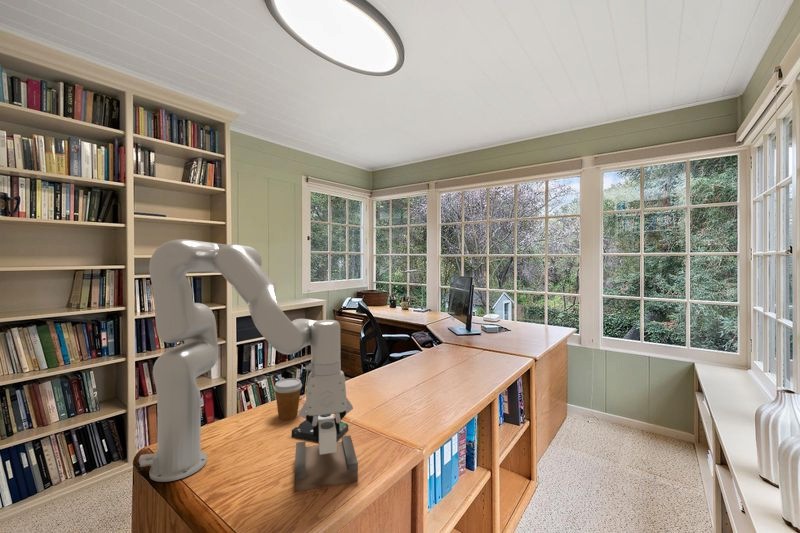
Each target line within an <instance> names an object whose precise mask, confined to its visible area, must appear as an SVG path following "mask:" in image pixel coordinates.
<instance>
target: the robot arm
mask: <svg viewBox="0 0 800 533" xmlns="http://www.w3.org/2000/svg"><path fill="white" fill-rule="evenodd" d="M262 260H263V259H262V256H261V254H260V253H259V252H258V250H257V249H256V248H254V247H252V246H248V245H243V244H224V243H219V242H218V243H217V242H207V241H201V240H193V239H187V238H186V239H184V238H183V239H181V238H180V239H173V240H170V241H167V242H165V243H162V244H161V245H159V247H157V248H156V249H155V251H153V254H152V255H151V257H150V260H149V265H148V267H149V268H148V269H149V277H150V282H151V288H152V294H153V305H154V306H153V308H154V317H155V318H154V320H155V326H156V333H157V336H158V338H159V339H160V340H161V341H163V342H164V343H169V344H175V343H181V342H183V344H182V345H179V346H176V347H173V348H172V349H168V350H167V351H164V352H163V353H162V354H161V355H160V356H159V357H158V358H157V359H156V360H155V362H154V363H153V364H154V365H153V367H152V377H153V382H154V385H155V390H156V391H155V392H156V398H157V399H156V403H157V404H156V406H157V409H156V412H157V418H156V419H157V432H156V434H157V437H156V438H157V439H156V440H157V442H156V444H157V445H156V448H157V450H156V451H155V452H154V453H146V454H141V455H140V456H139V458H138V463H139V467H140V468H143V467H148V466H150V470H149V472H148V473H149V479H151V480H152V481H155V482H159V483H160V482H161V483H166V482H168V483H169V482H172V481H173V482H174V481H177V480H178V481H179V480H181V479H184V478H187V477H189V476H191V475H193V474H195V473H197V472H199V471H200V470H201V469H203V467H204V466H205V465H206V463H207V460H208V454H207V453H206V452H205V451H203V450H201V441H202V440H201V424H202V423H201V419H202V416H201V414H202V412H201V409H202V407H201V406H202V404H201V402H202V401H201V400H202V399H201V391H200V388H199V386H198V384H197V383H198V382H197V380H196V379H197V378H198V377H199V376H201V375H203V374H205V373H206V372H208V371H210V370H212V369H213V367H214V366H215V365H216V364H217V362H218V358H219V344H218V343H219V342H218V331H217V323H216V322H217V321H216V317H215V314H214V312H213V310H212V309H211V308H210V307H209V306H208V305H207V304H204V303H202V302H201V303H200V302H194V299H193V287H192V285H191V282H190V280H188V278H187V274H188V273H202V272H203V273H217V274H218V273H219V274H221V275H222V276H223V278H224V279H225V280H226V281H227V282H228V283H229V284H230V285H231V288H233V289H234V290H235V291H236V292H237V294H238V295H239V296H240V297H241V298H242V300H243V301H244V302H245V303H246V305H247V306H248V310H249V313H250V316H251V319H252V321H253V324H254V326H255V328H256V329H257V330H258V332H259V333H260V335H262V337H263V338H264V339H265V341H267V343H268V344H269V345H270V346H271V347H272V348H273V349H274V350H275V351H277V352H278V353H280V354H282V355H288V356H289V355H295V354H296V353H298V352H300V351H301V350H303V348H305V347H307V346H310V355H311V356H310V362H309V364H306V365H305V371H309V373H308V376H307V382H306V392H305V393H306V394H305V395H306V397H305V402H304V403H303V405H302V406H301V408H300V409H299V410H298V416H299V417H301V418H303V419H304V420H307V421H309V422H310V423H311V424H312V426H313V437H316V442H315V443H319V442H318V441H319V424H318V416H320V415H328V414H333V415H334V421H335V427H336V439H337V434H339V433H340V422H342V420H343V419H344V418H345V416H346V415H347V414H349V413H350V412H351V411H352V410H353V409H354V406H353V404H352V402H350V400H349V398H348V397H347V389H346V388H347V387H346V385H347V384H346V378H345V374H344V373H345V372H344V371H343V370H341V368H342V367H341V362H342V361H341V324H340V322H339V321H338V320H335V319H321V320H314V319H309V318H297V319H294V320H291V319H290V318H289V317H288V316H287V315H286V314H285V313H284V311H283V310H282V309H281V307H280V305H279V304H278V301H277V297H276V293H277V286H276V283H275V282H274V280H273V279H272V278H271V277H270V276H269V275H268V274H267V272H266V271H265V270H264V269H263V268H262V267H261V266H262V264H263V262H262Z"/></svg>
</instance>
